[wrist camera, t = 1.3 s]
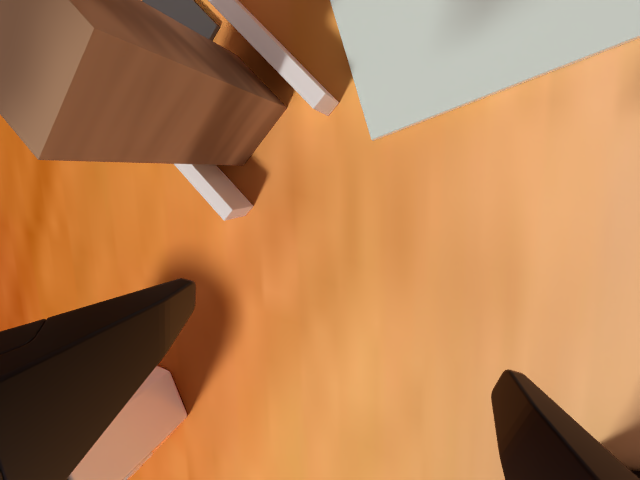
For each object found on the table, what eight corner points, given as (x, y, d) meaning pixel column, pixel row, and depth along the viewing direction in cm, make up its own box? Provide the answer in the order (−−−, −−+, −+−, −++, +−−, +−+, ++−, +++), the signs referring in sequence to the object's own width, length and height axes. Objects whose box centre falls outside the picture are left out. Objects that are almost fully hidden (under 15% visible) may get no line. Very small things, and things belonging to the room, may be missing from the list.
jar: (160, 450, 32) (13, 596, 21) (107, 390, 33) (-58, 499, 22) (201, 403, 29) (53, 549, 18) (141, 338, 30) (-34, 437, 19)
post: (286, 107, 21) (94, 27, 9) (243, 165, 23) (38, 159, 11) (236, 55, 21) (-8, -84, 10) (197, 116, 23) (-45, 61, 12)
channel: (339, 102, 19) (325, 93, 17) (245, 215, 23) (223, 220, 21) (171, -68, 21) (138, -97, 19) (110, 65, 25) (76, 54, 22)
